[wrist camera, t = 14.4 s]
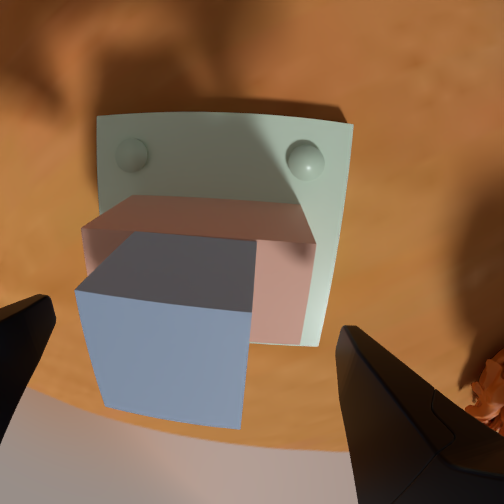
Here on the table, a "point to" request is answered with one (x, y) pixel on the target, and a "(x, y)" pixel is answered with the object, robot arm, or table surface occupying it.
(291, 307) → the terracotta brick
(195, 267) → the blue brick
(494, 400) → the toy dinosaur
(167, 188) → the plate
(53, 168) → the table surface
